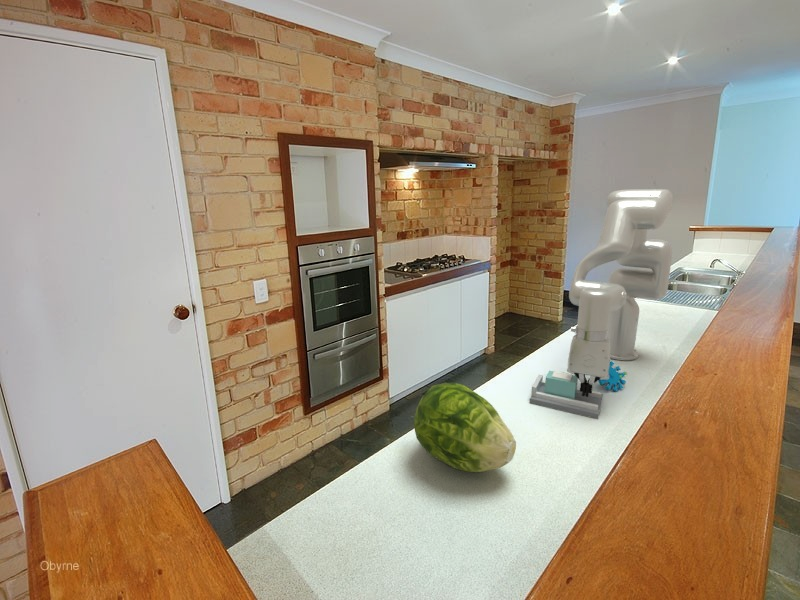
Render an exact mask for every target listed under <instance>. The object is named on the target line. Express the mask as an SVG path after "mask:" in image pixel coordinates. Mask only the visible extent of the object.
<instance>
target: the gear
mask: <svg viewBox="0 0 800 600" xmlns="http://www.w3.org/2000/svg"><path fill="white" fill-rule="evenodd" d="M614 365H615V362H614V361H612V360H610V365H609V379H608V380H601V379H600V380H598V381H597V382H598V383H599V385H601V386H603V385H604V384H606V383H607V385H605V387H604V388H605V389H606V390H607V391H610V390H612V391H613V392H615V391H616V392H618V391H619V390H622V389H624V386H623V385H626V382H627V381H626V380H625V379H623V378H624V377H625V376H626V375H628V373H627V371H623V372H619V371H620V370H621V367H620V366H619V365H617V366H615V367H612V366H614ZM612 386H613V387H612Z"/></svg>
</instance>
